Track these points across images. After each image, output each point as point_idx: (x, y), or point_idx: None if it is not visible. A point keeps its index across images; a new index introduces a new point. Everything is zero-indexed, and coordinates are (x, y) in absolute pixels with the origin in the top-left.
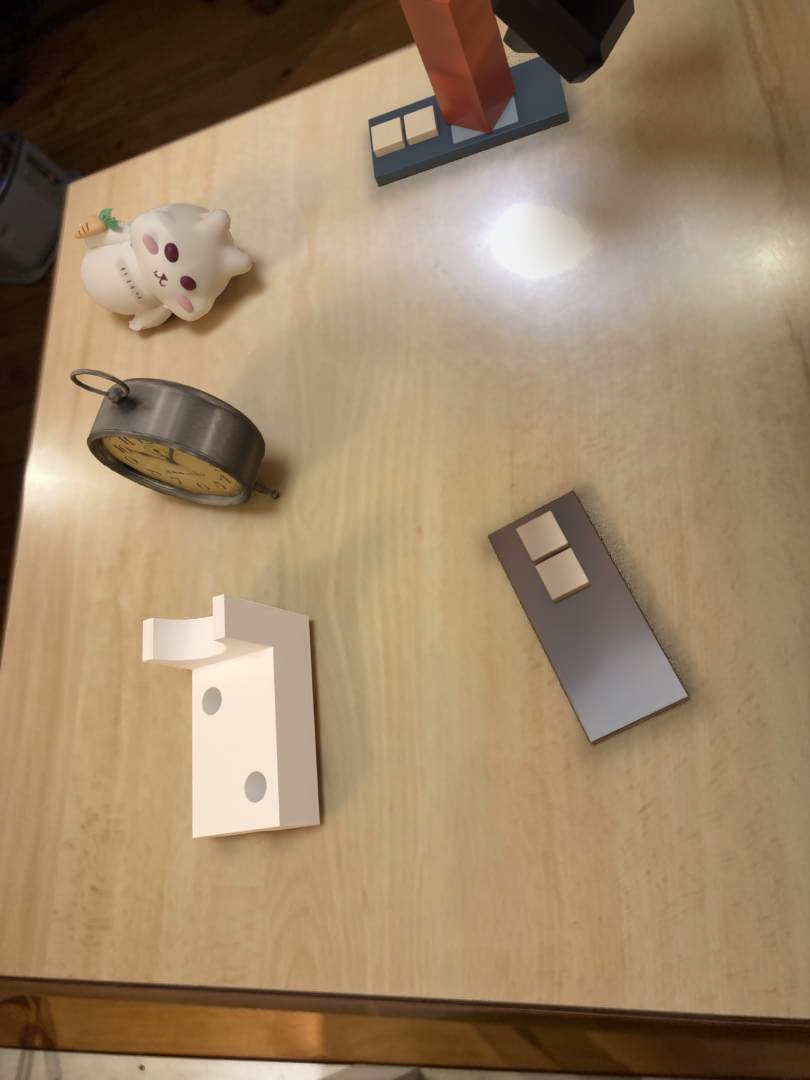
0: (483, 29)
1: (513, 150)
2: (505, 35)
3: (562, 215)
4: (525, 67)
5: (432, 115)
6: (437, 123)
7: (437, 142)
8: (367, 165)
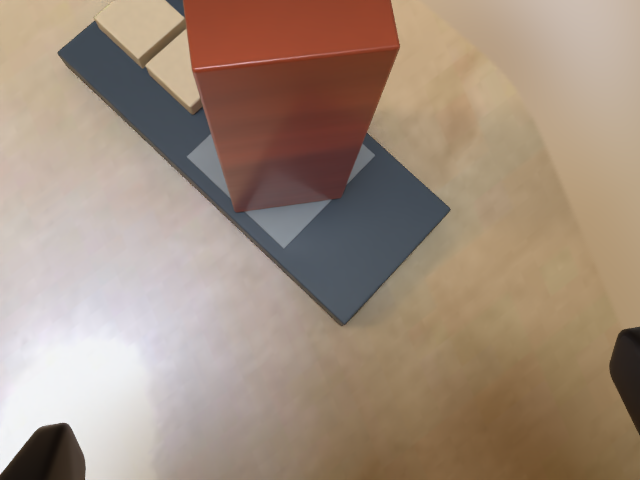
0: (309, 137)
1: (242, 264)
2: (2, 472)
3: (151, 456)
4: (396, 180)
5: None
6: None
7: (178, 122)
8: None
